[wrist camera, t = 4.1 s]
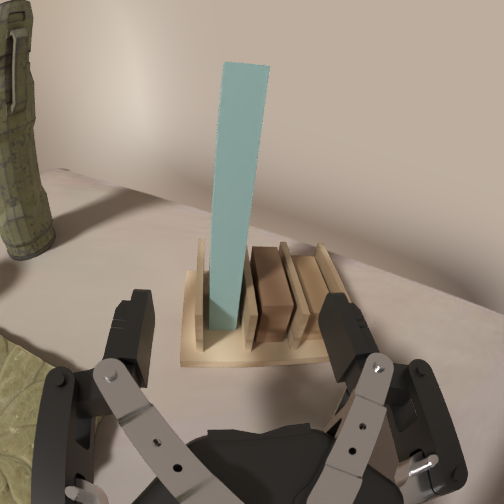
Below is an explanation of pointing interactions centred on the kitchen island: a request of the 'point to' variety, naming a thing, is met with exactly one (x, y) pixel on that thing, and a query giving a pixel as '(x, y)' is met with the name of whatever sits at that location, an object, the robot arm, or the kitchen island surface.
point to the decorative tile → (19, 418)
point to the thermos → (20, 141)
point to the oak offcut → (311, 293)
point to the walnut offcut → (270, 294)
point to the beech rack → (251, 320)
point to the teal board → (234, 185)
